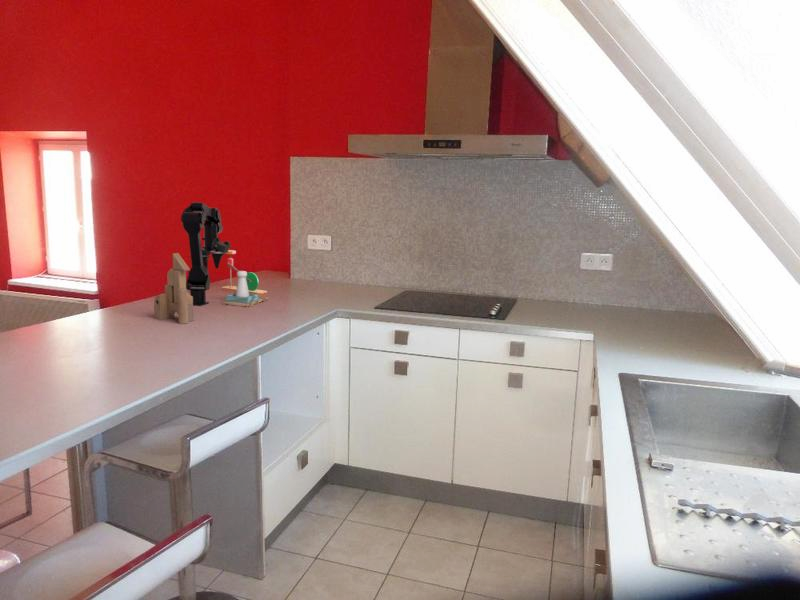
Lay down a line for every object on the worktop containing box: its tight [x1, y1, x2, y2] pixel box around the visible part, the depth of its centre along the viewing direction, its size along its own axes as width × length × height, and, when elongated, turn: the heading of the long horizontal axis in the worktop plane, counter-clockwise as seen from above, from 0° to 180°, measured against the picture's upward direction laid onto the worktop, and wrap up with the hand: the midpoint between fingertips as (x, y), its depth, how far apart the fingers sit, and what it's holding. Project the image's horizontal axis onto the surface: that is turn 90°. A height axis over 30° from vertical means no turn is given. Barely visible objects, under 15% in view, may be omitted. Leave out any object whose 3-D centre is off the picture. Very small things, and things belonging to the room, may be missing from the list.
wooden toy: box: [153, 252, 194, 325], centre depth 215 cm, size 15×7×25 cm, turn 63°
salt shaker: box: [235, 270, 249, 297], centre depth 251 cm, size 6×6×13 cm
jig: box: [222, 292, 269, 307], centre depth 255 cm, size 18×12×4 cm, turn 166°
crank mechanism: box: [221, 249, 268, 294], centre depth 280 cm, size 25×7×19 cm, turn 61°
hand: (211, 269), depth 266 cm, fingers open, 9 cm apart
